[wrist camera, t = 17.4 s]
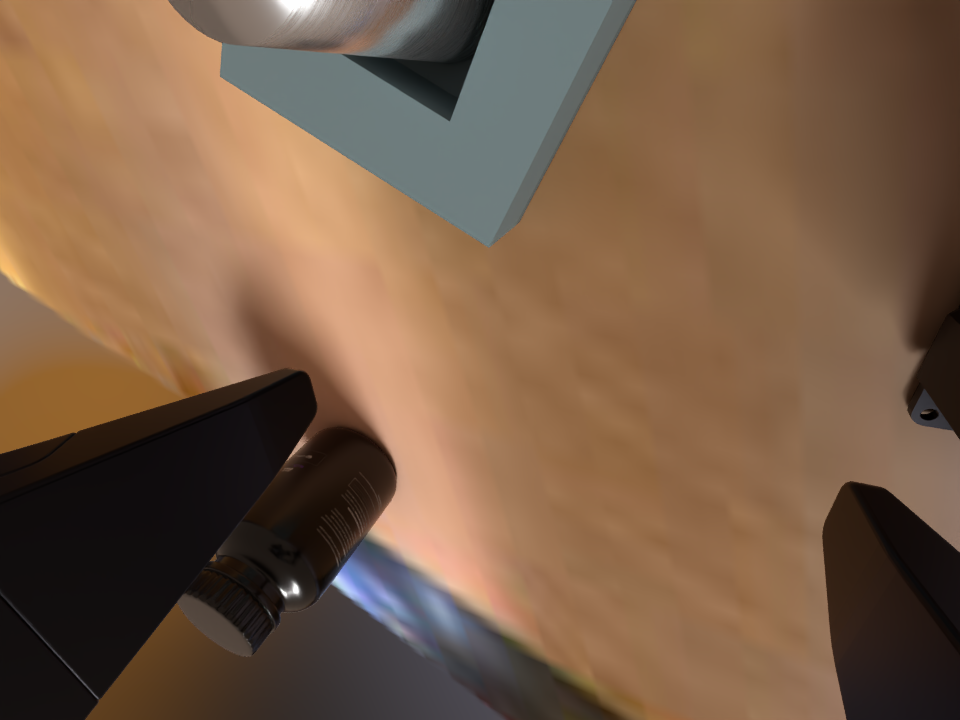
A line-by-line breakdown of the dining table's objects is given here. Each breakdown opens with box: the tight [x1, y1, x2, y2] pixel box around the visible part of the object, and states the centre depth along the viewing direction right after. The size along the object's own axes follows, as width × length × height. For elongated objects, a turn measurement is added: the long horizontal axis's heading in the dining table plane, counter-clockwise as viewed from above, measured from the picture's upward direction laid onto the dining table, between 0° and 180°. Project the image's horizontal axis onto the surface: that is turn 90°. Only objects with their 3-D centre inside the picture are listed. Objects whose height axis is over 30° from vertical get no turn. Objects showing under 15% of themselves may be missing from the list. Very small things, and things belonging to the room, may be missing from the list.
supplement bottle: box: [177, 427, 396, 657], centre depth 28 cm, size 7×7×12 cm
